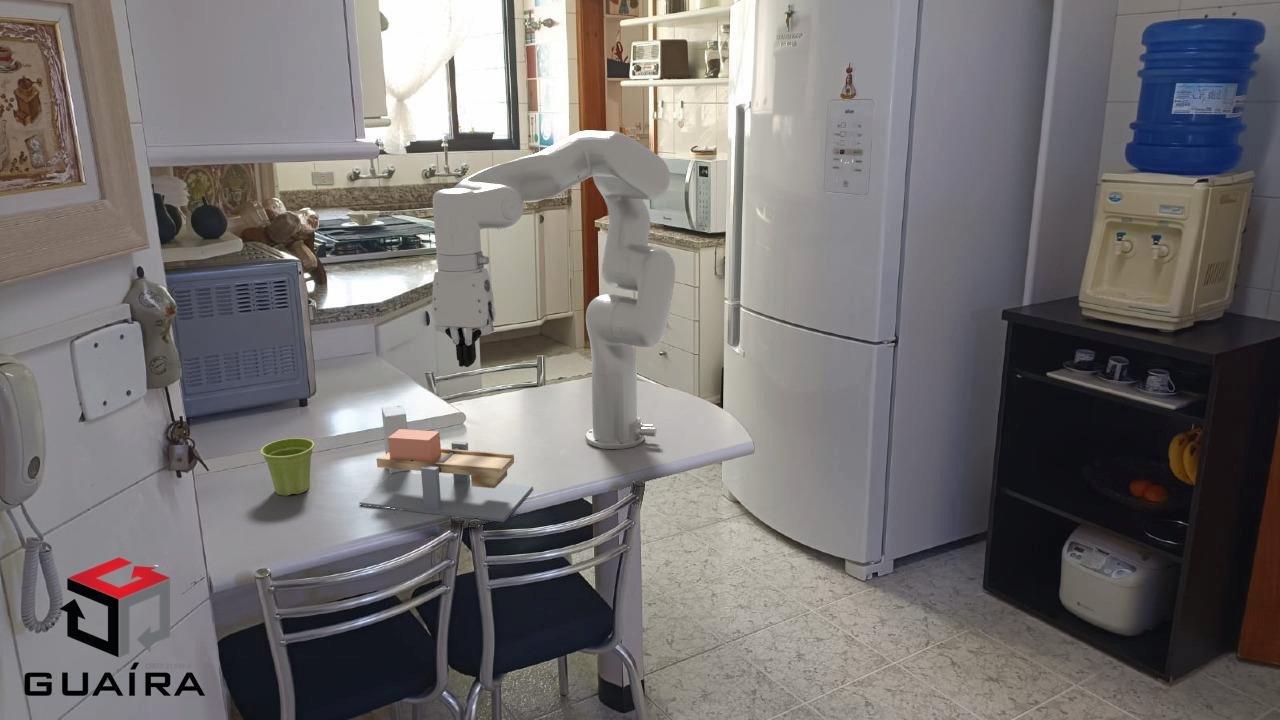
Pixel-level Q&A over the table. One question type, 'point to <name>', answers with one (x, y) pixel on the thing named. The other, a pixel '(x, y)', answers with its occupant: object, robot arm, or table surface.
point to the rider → (414, 445)
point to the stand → (447, 494)
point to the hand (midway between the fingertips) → (467, 364)
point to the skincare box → (393, 425)
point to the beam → (461, 465)
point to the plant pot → (289, 464)
